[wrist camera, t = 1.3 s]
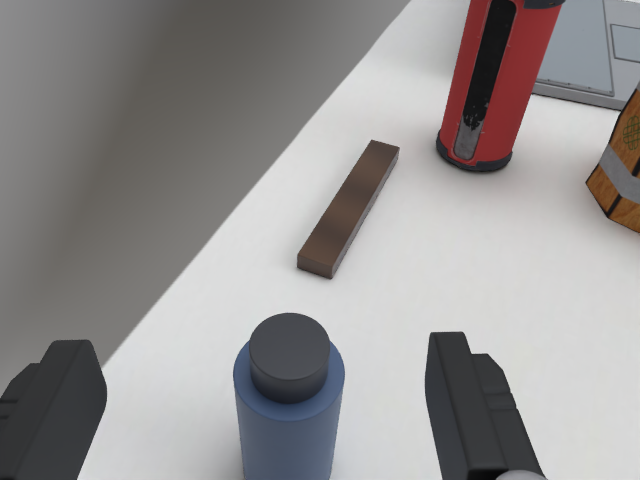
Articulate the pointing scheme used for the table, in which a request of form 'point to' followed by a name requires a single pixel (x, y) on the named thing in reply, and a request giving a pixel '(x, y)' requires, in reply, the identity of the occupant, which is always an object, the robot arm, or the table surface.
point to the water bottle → (288, 399)
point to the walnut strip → (347, 210)
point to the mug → (621, 168)
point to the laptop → (593, 53)
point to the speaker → (494, 79)
